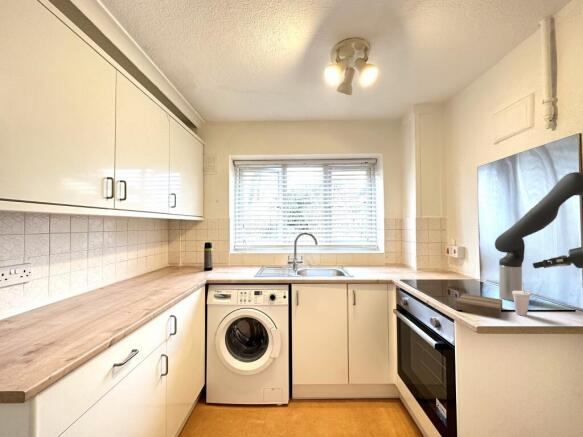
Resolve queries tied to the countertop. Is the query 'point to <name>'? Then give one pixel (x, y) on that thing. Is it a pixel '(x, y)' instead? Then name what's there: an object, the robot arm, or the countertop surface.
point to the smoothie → (521, 301)
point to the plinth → (479, 305)
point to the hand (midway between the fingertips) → (538, 265)
